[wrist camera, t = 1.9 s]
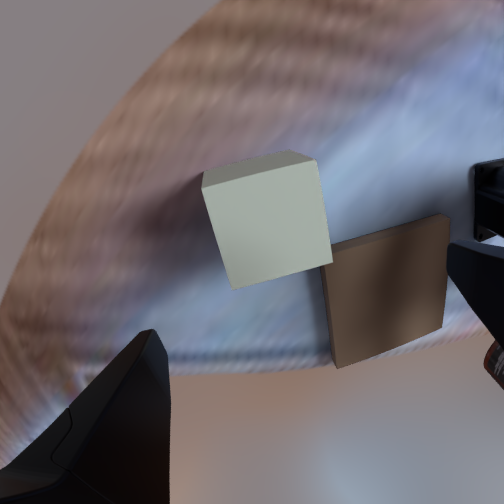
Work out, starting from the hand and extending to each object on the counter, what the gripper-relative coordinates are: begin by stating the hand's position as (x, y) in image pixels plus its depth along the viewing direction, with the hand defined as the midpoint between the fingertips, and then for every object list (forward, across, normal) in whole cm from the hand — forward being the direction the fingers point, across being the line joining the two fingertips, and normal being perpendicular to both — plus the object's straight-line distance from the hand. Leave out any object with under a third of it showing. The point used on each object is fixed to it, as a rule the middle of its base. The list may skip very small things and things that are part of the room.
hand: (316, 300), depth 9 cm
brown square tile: (+11, -8, +9) cm, 16 cm away
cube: (+11, 0, 0) cm, 11 cm away
